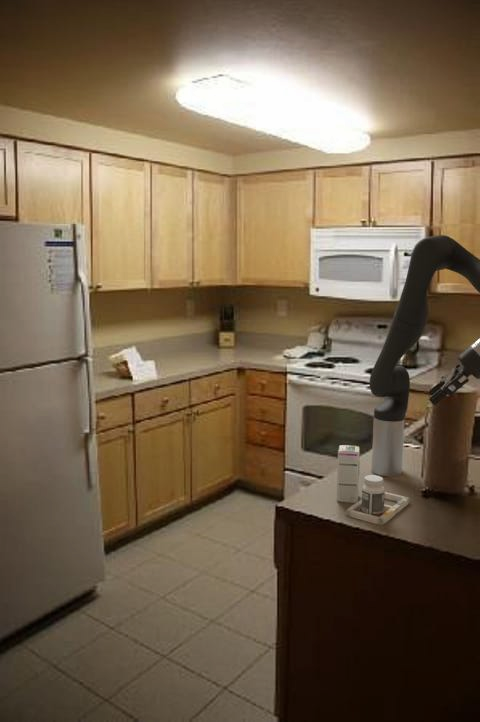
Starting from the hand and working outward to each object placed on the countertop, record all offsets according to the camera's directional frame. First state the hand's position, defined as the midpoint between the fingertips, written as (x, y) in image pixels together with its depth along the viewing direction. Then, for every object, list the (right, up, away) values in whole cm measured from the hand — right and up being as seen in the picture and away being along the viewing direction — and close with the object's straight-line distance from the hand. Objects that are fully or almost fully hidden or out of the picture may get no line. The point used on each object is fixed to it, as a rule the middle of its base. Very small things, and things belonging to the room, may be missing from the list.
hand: (431, 398), depth 159 cm
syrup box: (-19, -29, +15) cm, 37 cm away
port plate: (-12, -30, +8) cm, 33 cm away
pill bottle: (-14, -31, +4) cm, 34 cm away
